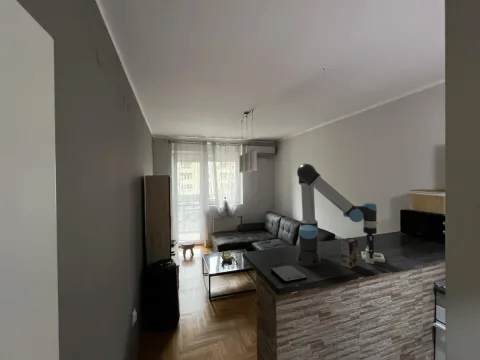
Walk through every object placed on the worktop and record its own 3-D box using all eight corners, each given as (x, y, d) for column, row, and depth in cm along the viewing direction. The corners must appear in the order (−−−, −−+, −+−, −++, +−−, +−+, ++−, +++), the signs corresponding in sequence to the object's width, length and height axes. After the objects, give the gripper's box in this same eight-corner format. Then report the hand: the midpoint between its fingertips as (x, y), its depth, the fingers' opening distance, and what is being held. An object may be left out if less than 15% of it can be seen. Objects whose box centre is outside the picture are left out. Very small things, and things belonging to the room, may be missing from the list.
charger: (366, 262, 143) (366, 250, 143) (365, 260, 147) (365, 248, 147) (373, 263, 141) (374, 251, 141) (373, 261, 145) (373, 249, 145)
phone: (352, 257, 154) (352, 256, 154) (346, 251, 165) (346, 250, 165) (360, 257, 153) (360, 256, 153) (354, 252, 164) (354, 251, 164)
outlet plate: (362, 259, 149) (362, 256, 149) (361, 253, 160) (361, 251, 160) (385, 262, 143) (385, 259, 143) (382, 256, 154) (382, 253, 154)
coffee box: (350, 268, 134) (350, 242, 134) (340, 265, 140) (340, 240, 139) (358, 265, 140) (358, 239, 139) (348, 261, 145) (348, 237, 144)
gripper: (379, 232, 131) (379, 267, 131) (374, 223, 153) (374, 253, 154) (364, 230, 134) (364, 265, 135) (362, 222, 156) (362, 252, 157)
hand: (370, 259), depth 144 cm, fingers open, 13 cm apart
